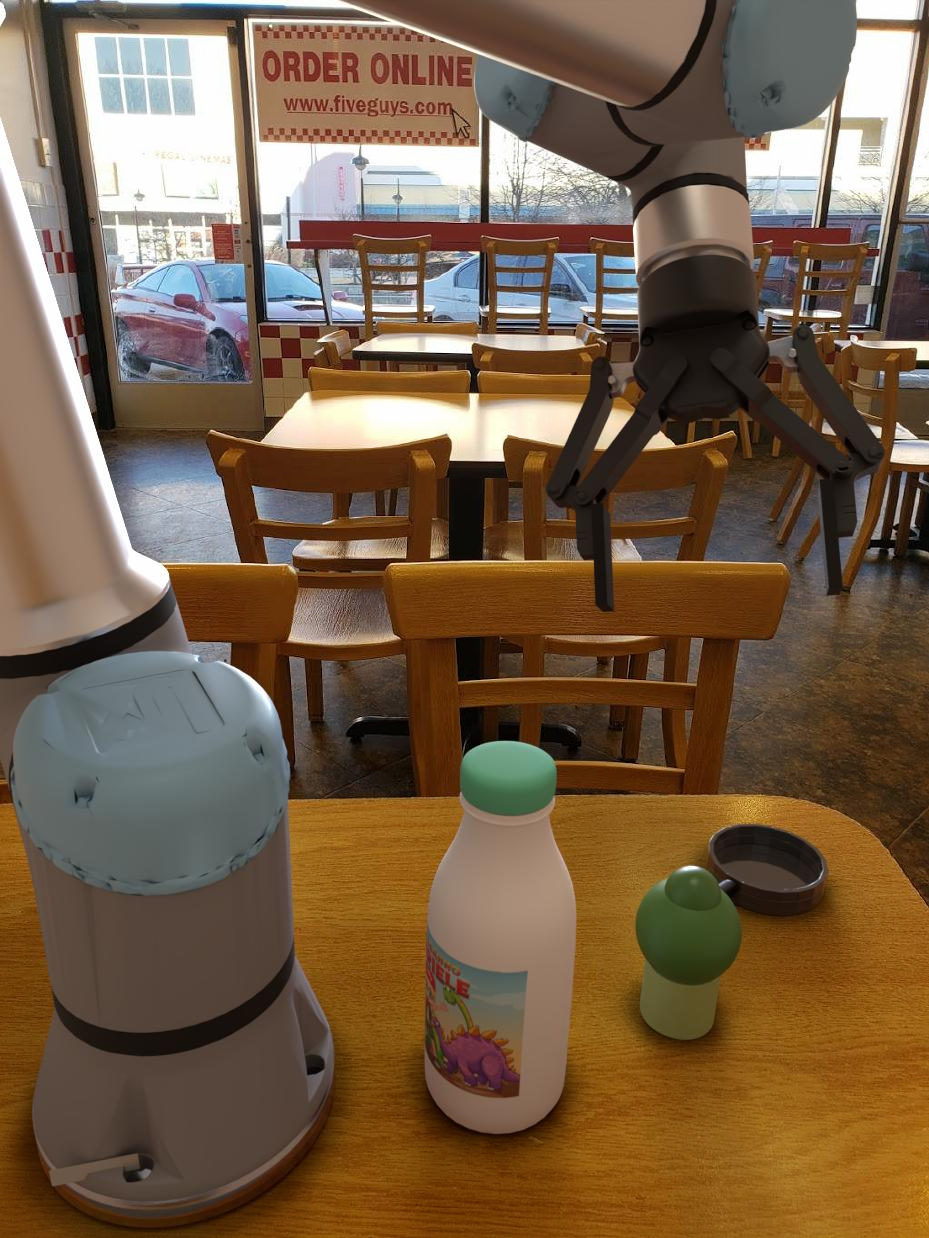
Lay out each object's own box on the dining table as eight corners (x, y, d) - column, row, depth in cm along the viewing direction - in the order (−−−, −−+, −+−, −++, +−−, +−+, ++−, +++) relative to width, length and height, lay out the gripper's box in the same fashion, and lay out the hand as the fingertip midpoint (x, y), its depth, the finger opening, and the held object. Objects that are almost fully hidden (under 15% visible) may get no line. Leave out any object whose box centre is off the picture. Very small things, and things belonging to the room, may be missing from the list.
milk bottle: (509, 1006, 57) (525, 709, 50) (593, 1096, 51) (625, 775, 44) (398, 1060, 53) (397, 746, 45) (475, 1165, 47) (488, 824, 40)
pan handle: (655, 934, 62) (657, 919, 61) (725, 887, 67) (727, 873, 66) (670, 944, 61) (672, 929, 61) (739, 896, 66) (742, 882, 65)
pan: (682, 873, 69) (685, 850, 69) (747, 833, 74) (750, 811, 74) (782, 932, 64) (787, 908, 63) (845, 884, 69) (849, 861, 68)
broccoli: (605, 1006, 57) (619, 866, 53) (667, 962, 61) (684, 828, 57) (686, 1068, 53) (708, 920, 49) (747, 1017, 56) (772, 876, 53)
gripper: (896, 275, 61) (930, 595, 57) (523, 337, 69) (532, 623, 65) (912, 209, 54) (951, 569, 50) (495, 286, 61) (502, 604, 58)
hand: (715, 600), depth 57 cm, fingers open, 13 cm apart
